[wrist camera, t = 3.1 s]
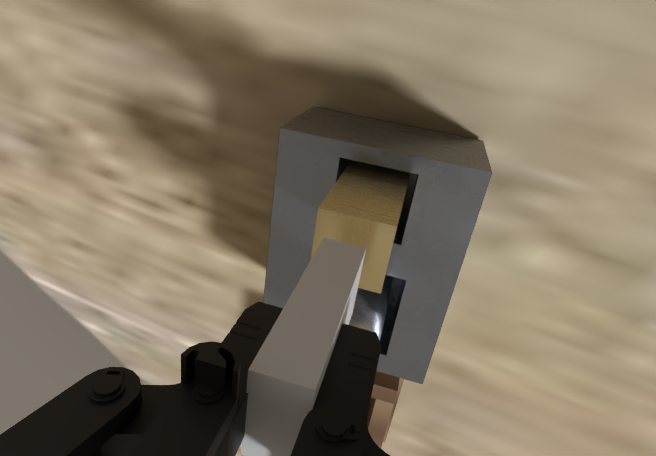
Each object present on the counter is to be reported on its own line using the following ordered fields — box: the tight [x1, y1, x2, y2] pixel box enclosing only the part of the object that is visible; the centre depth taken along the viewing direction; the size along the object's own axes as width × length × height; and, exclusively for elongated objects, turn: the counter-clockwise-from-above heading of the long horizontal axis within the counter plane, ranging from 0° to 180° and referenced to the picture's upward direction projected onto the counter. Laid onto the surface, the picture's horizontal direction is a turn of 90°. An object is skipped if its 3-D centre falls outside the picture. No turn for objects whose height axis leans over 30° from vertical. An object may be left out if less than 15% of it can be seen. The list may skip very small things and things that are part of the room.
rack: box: [367, 371, 404, 448], centre depth 33 cm, size 9×9×4 cm
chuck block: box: [263, 107, 492, 384], centre depth 26 cm, size 13×10×6 cm
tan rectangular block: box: [310, 160, 410, 294], centre depth 20 cm, size 3×3×7 cm
